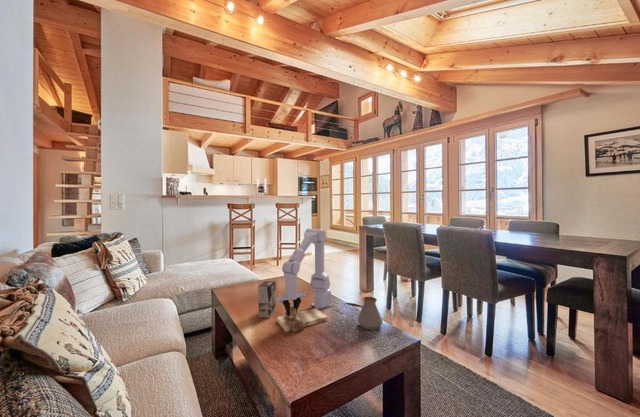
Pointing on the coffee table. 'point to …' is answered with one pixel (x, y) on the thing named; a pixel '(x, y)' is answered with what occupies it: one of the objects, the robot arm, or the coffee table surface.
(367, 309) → the coffee pot
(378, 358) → the coffee table surface
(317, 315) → the pine board
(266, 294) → the coffee box
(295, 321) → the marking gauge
